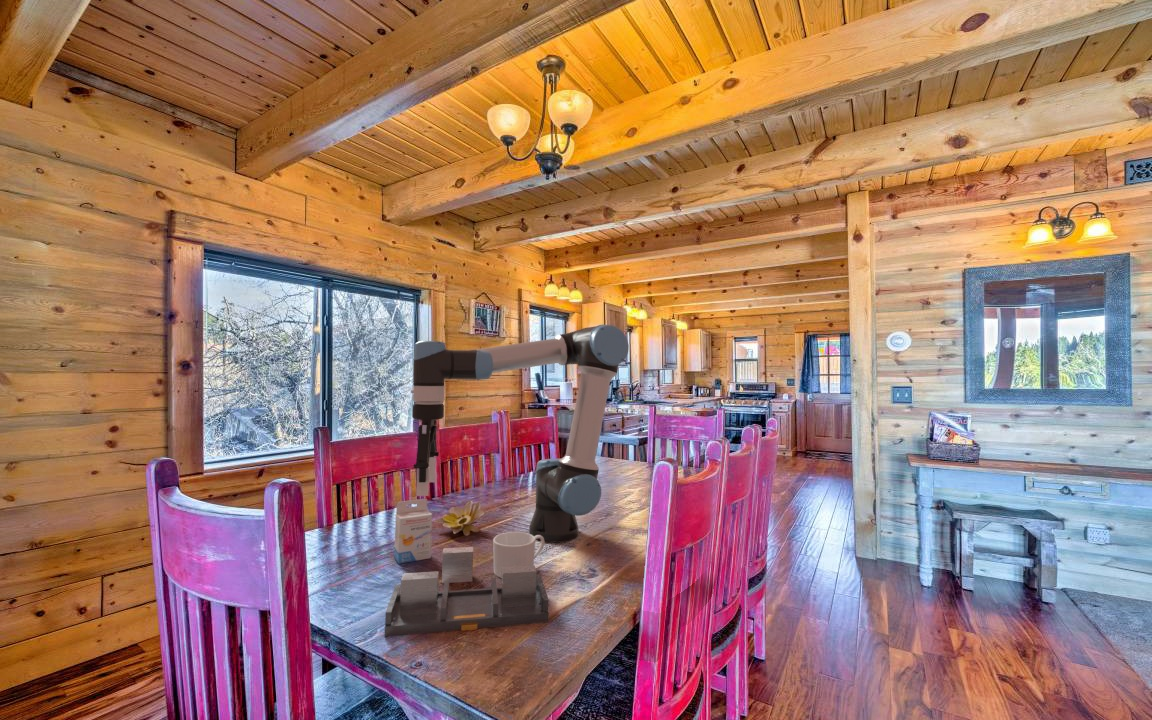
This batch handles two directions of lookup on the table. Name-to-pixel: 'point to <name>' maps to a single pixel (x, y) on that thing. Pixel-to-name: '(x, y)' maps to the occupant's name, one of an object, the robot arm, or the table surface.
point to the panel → (457, 564)
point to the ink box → (412, 531)
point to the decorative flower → (462, 518)
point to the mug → (514, 550)
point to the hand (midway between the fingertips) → (426, 488)
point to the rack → (466, 603)
